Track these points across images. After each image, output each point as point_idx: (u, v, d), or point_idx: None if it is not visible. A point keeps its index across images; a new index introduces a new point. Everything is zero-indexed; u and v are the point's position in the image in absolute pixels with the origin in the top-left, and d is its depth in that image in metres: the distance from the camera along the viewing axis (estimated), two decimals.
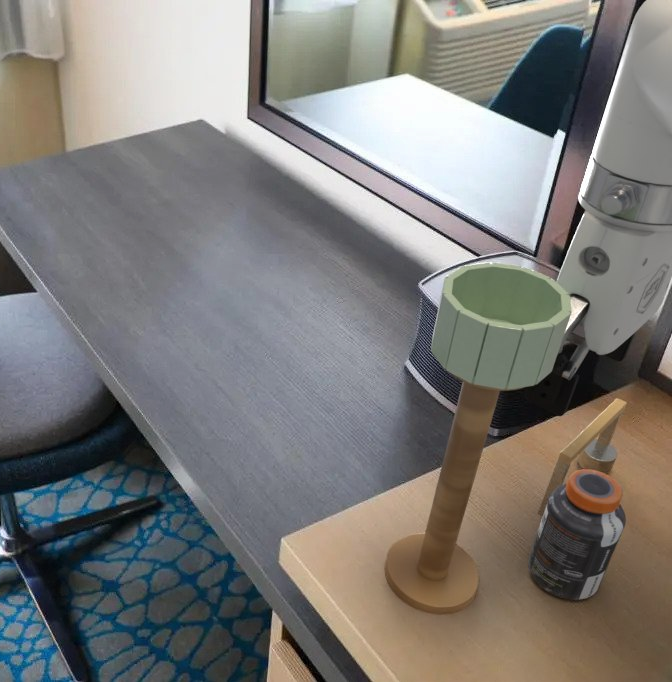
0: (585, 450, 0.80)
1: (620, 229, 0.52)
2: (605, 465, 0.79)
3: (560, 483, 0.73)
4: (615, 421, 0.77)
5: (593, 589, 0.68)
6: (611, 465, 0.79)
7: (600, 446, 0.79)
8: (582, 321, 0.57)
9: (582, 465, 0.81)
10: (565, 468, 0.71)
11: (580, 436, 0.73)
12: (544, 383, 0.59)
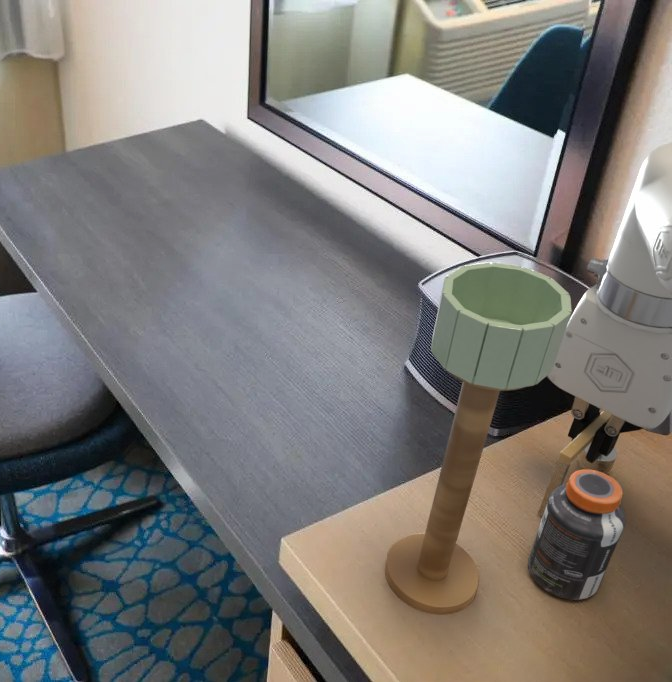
0: (585, 450, 0.80)
1: (592, 290, 0.68)
2: (605, 465, 0.79)
3: (560, 483, 0.73)
4: None
5: (593, 589, 0.68)
6: (611, 465, 0.79)
7: None
8: None
9: (582, 465, 0.81)
10: (565, 468, 0.71)
11: (580, 436, 0.73)
12: None
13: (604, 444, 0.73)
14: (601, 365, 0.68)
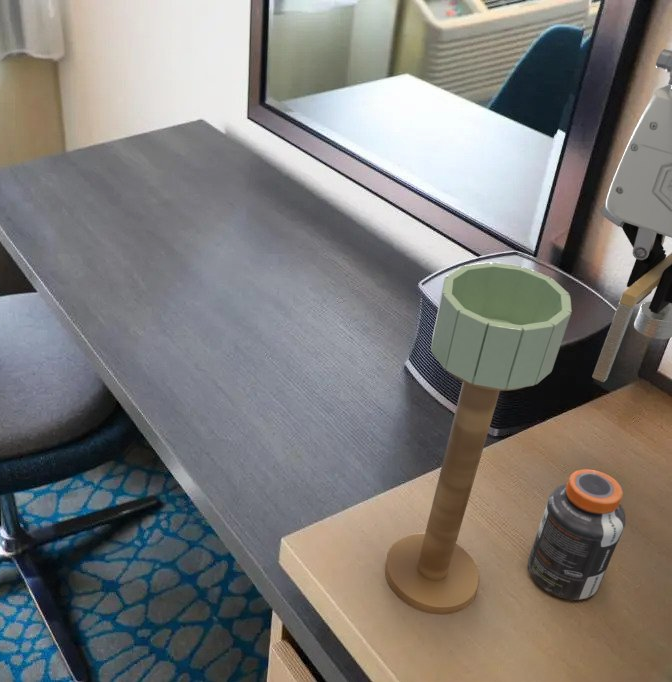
0: (644, 311, 0.69)
1: (663, 90, 0.57)
2: (667, 326, 0.68)
3: (621, 333, 0.62)
4: None
5: (593, 589, 0.68)
6: None
7: None
8: None
9: (640, 330, 0.70)
10: (629, 312, 0.60)
11: (644, 277, 0.62)
12: None
13: None
14: None
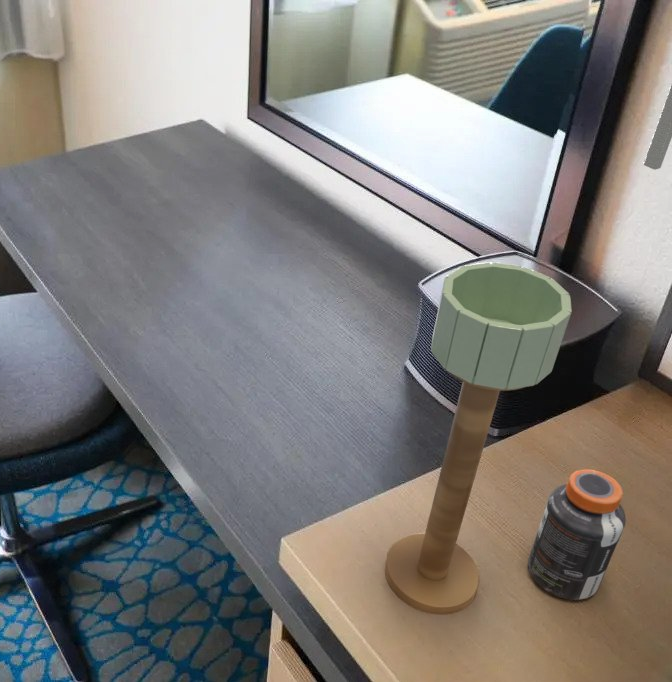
0: None
1: None
2: None
3: None
4: None
5: (593, 589, 0.68)
6: None
7: None
8: None
9: None
10: None
11: None
12: None
13: None
14: None
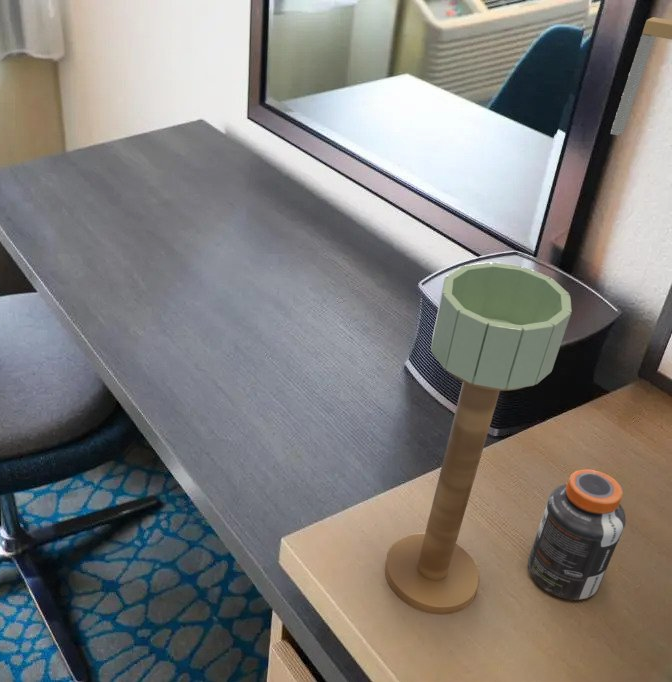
0: None
1: None
2: None
3: (631, 68, 0.57)
4: None
5: (593, 589, 0.68)
6: None
7: None
8: None
9: None
10: (640, 39, 0.56)
11: None
12: None
13: None
14: None
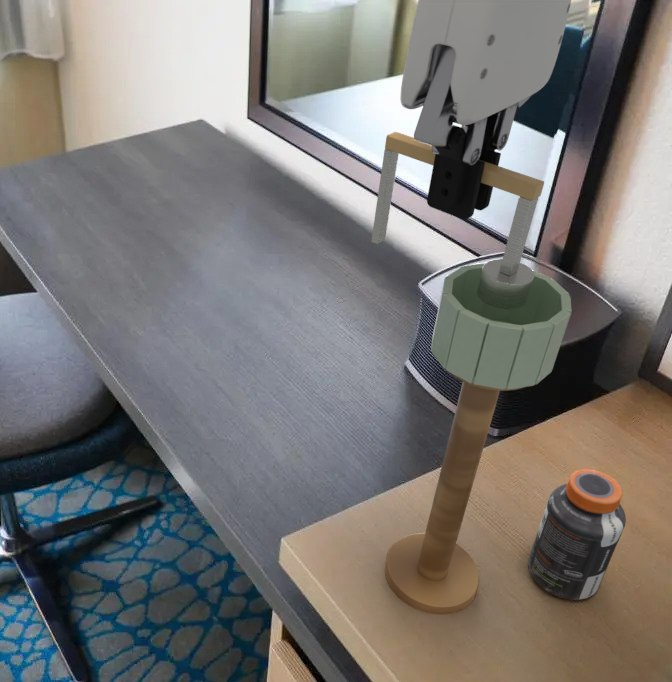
0: (500, 259, 0.53)
1: None
2: (482, 278, 0.52)
3: (380, 180, 0.56)
4: (516, 211, 0.49)
5: (593, 589, 0.68)
6: (488, 289, 0.52)
7: None
8: None
9: None
10: (384, 153, 0.55)
11: None
12: None
13: None
14: None
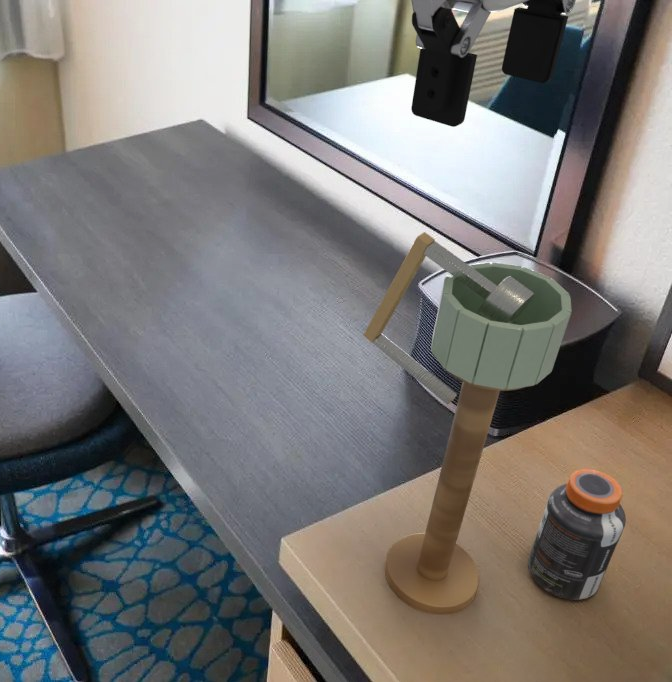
0: None
1: None
2: (484, 317, 0.53)
3: (396, 362, 0.62)
4: None
5: (593, 589, 0.68)
6: (491, 315, 0.52)
7: None
8: None
9: None
10: (376, 346, 0.63)
11: None
12: None
13: None
14: None
